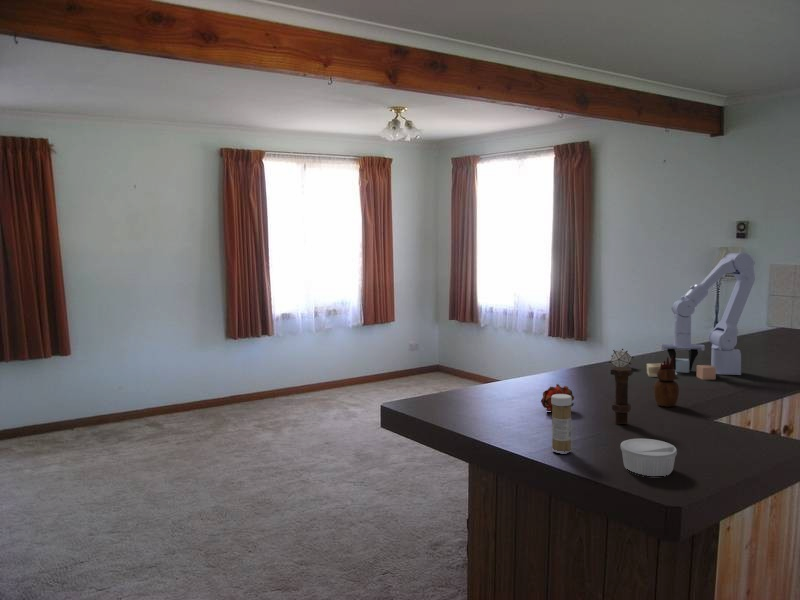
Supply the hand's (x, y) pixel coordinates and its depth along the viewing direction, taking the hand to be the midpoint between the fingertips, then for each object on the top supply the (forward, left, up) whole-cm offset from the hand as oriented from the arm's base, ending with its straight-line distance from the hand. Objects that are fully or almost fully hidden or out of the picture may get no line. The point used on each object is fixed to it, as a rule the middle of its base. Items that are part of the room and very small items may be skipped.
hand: (682, 369), depth 229 cm
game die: (+21, -3, -2) cm, 21 cm away
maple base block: (+9, +8, -1) cm, 12 cm away
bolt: (+26, +72, -2) cm, 77 cm away
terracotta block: (-6, +11, -2) cm, 13 cm away
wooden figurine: (+12, +50, -2) cm, 51 cm away
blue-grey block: (0, 0, -1) cm, 1 cm away
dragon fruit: (+43, +63, -2) cm, 76 cm away
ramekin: (+23, +107, -2) cm, 109 cm away
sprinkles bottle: (+41, +99, -2) cm, 107 cm away
